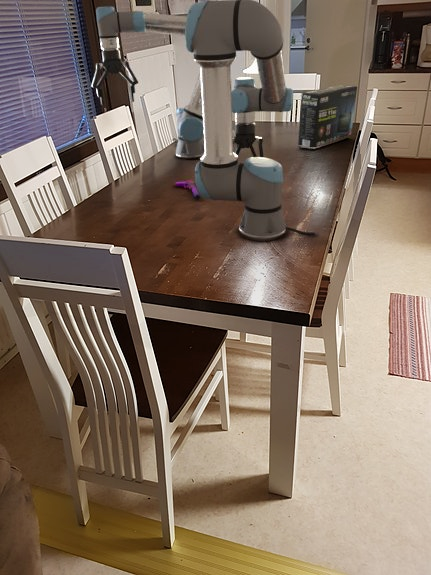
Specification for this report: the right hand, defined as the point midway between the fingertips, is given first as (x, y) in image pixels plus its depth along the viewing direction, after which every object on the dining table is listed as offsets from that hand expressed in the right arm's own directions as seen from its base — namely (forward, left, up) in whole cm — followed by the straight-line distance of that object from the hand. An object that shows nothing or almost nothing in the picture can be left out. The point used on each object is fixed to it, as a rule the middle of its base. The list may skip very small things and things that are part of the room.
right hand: (245, 181), depth 184 cm
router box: (-6, -83, -3) cm, 84 cm away
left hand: (+66, -5, +26) cm, 71 cm away
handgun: (+20, +12, -3) cm, 23 cm away
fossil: (+49, -70, -3) cm, 86 cm away
